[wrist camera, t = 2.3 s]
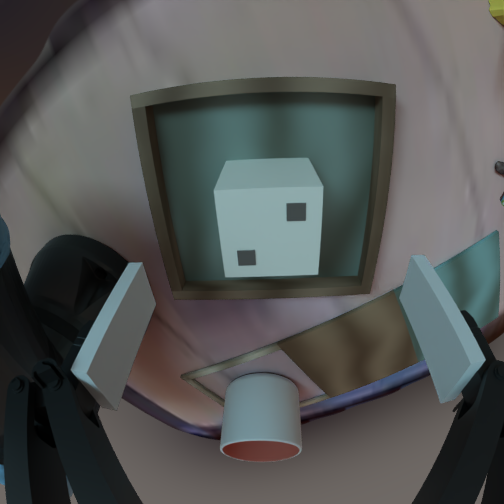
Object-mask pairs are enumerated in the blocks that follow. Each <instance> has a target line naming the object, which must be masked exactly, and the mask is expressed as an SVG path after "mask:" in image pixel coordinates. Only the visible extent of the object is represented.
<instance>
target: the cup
mask: <svg viewBox="0 0 504 504" xmlns="http://www.w3.org/2000/svg"><path fill="white" fill-rule="evenodd" d="M220 450H221V452H222V453H223V454H225V455H227V456H229V457H231V458H235V459H239V460H244V461H252V462H272V461H280V460H285V459H288V458H292V457H294V456H296V455H298V454H299V453H300V452H301V451H302V440H301V421H300V405H299V392H298V389H297V387H296V385H295V384H294V383H293V382H292V381H290V380H289V379H287V378H285V377H283V376H280V375H276V374H270V373H254V374H248V375H244V376H241V377H239V378H237V379H235V380H234V381H232V382H231V383H230V384H229V386H228V387H227V389H226V394H225V403H224V413H223V423H222V433H221V443H220Z"/></svg>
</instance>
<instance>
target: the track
mask: <svg viewBox="0 0 504 504" xmlns="http://www.w3.org/2000/svg"><path fill="white" fill-rule="evenodd" d="M434 270H435V272H436V273H437V275H438V276H439V278H440V279H441V281H442V282H443V284H444V286H445V287H446V289H447V290H448V292H449V294H450V295H451V297H452V299H453V300H454V302H455V304H456V305H457V307H458V309H459V310H460V311H462V310H466V311H467V312H468V313H469V314H470V315H471V316H472V317H473V318H474V320H475V321H476V323H477V325H478V328H482V327H483V326H485V325H486V324H488V323H489V322H491V321H492V320H494V319H496V318H497V317H498V312H499V295H500V248H499V232H498V231H497V230H496V231H495V232H493V233H492V234H490V235H488V236H487V237H485V238H484V239H482V240H481V241H479V242H477V243H476V244H474V245H473V246H471V247H469V248H468V249H466V250H464V251H463V252H461V253H460V254H458V255H456V256H454V257H453V258H451V259H449V260H448V261H446V262H444V263H442V264H441V265H439V266H437V267H435V268H434ZM402 287H403V285H402V286H400V287H398V288H396V289H394V290H392V291H391V292H389V293H387V294H385V295H383V296H381V297H379V298H376V299H374V300H372V301H370V302H368V303H366V304H364V305H362V306H360V307H358V308H356V309H353V310H351V311H349V312H347V313H345V314H343V315H340V316H338V317H336V318H334V319H331V320H329V321H327V322H325V323H322V324H320V325H318V326H315V327H313V328H311V329H308V330H306V331H303V332H301V333H299V334H296V335H294V336H291V337H289V338H286V339H284V340H281V341H279V342H276V343H274V344H271V345H268V346H266V347H263V348H260V349H258V350H255V351H252V352H250V353H247V354H244V355H241V356H238V357H236V358H233V359H230V360H227V361H224V362H221V363H218V364H215V365H212V366H209V367H206V368H203V369H200V370H196V371H193V372H190V373H187V374H184V375H181V378H182V379H183V380H185V381H186V382H188V383H189V384H190V385H192V386H193V387H195V388H196V389H198V390H199V391H201V392H202V393H204V394H205V395H207V396H208V397H210V398H211V399H213V400H214V401H216V402H217V403H219V404H220V405H222V406H223V407H224V403H225V400H223V399H222V398H220V397H219V396H217V395H216V394H214V393H213V392H211V391H210V390H208V389H207V388H206V387H204V386H203V385H201V384H200V383H199V382H197V381H196V380H194V379H195V378H198V377H201V376H205V375H208V374H211V373H214V372H218V371H221V370H224V369H227V368H230V367H233V366H236V365H239V364H242V363H245V362H248V361H251V360H254V359H257V358H259V357H262V356H265V355H268V354H270V353H273V352H276V351H278V350H281V349H282V350H283V351H284V352H285V353H286V354H287V355H288V356H289V357H290V359H291V360H292V361H293V362H294V363H295V364H296V365H297V366H298V367H299V368H300V369H301V370H302V371H303V372H304V373H305V374H306V375H307V376H308V377H309V378H310V379H311V380H312V381H313V382H314V383H315V384H317V385H318V386H319V387H320V388H321V389H322V390H323V391H324V392H325V393H326V394H324V395H321V396H318V397H315V398H312V399H309V400H306V401H302V402H299V405H300V407H303V406H307V405H310V404H313V403H317V402H320V401H323V400H326V399H329V398H332V397H335V396H338V395H341V394H343V393H346V392H349V391H352V390H354V389H357V388H360V387H362V386H365V385H367V384H370V383H373V382H375V381H377V380H380V379H382V378H385V377H387V376H389V375H392V374H394V373H396V372H398V371H401V370H403V369H405V368H407V367H409V366H412V365H414V364H416V363H418V362H420V361H422V360H424V359H425V358H424V355H423V353H422V350H421V348H420V345H419V343H418V340H417V338H416V335H415V333H414V330H413V328H412V326H411V323H410V321H409V319H408V316H407V314H406V312H405V310H404V307H403V305H402V303H401V301H400V299H399V297H400V294H401V291H402Z"/></svg>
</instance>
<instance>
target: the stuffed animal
mask: <svg viewBox="0 0 504 504" xmlns="http://www.w3.org/2000/svg"><path fill="white" fill-rule="evenodd" d="M496 170H497V171H498V172H499V173H500V174H504V162H500V161H498V162H497V163H496ZM500 201H501V204H502V205H503V206H504V192H503V194H502V196H501V197H500Z"/></svg>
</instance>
